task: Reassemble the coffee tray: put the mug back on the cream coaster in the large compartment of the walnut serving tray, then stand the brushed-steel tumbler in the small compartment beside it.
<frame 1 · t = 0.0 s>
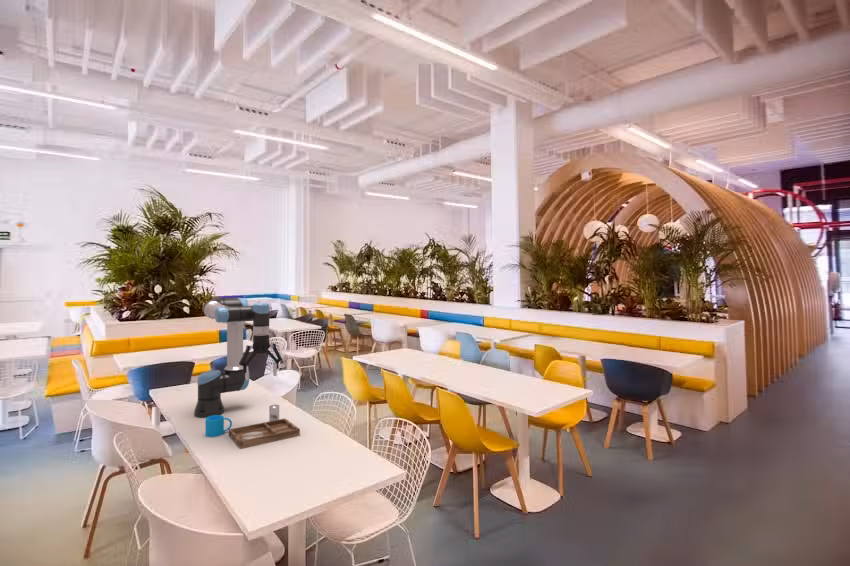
hand: (261, 377, 216), 28 cm above the table, fingers open, 13 cm apart
mug: (219, 433, 217), on the table
tray: (264, 435, 215), on the table
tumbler: (274, 422, 233), on the table
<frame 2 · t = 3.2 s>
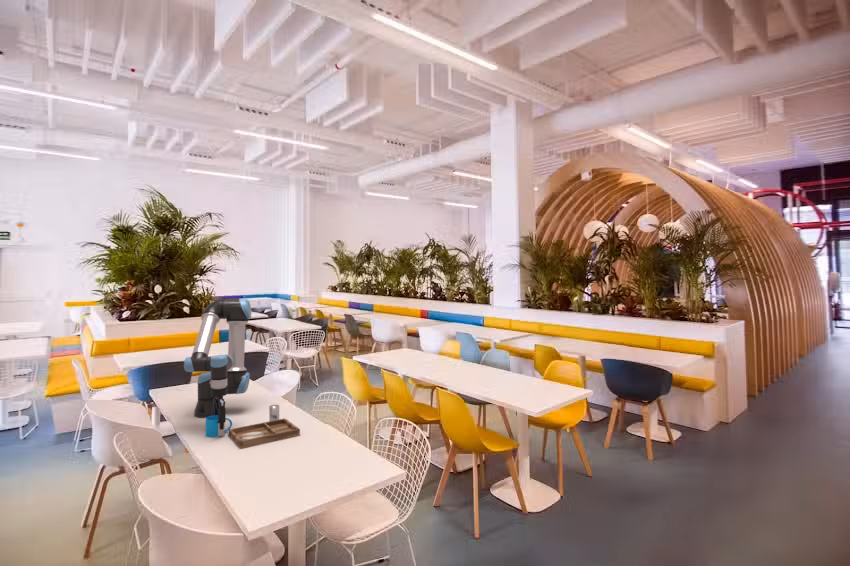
hand: (218, 432, 217), 0 cm above the table, fingers closed on mug, 8 cm apart
mug: (219, 433, 217), on the table, touching gripper
everything else where it was.
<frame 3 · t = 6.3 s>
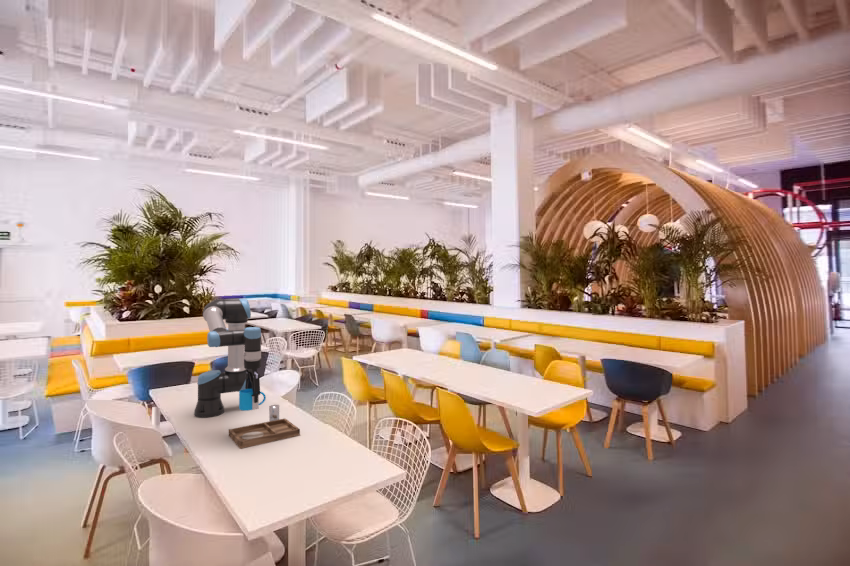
hand: (252, 406, 212), 15 cm above the table, fingers closed on mug, 8 cm apart
mug: (252, 407, 211), point 15 cm above the table, touching gripper
everything else where it was.
when the fingers open (2 cm above the table, at t = 9.1 s): mug stays where it is, resting on tray.
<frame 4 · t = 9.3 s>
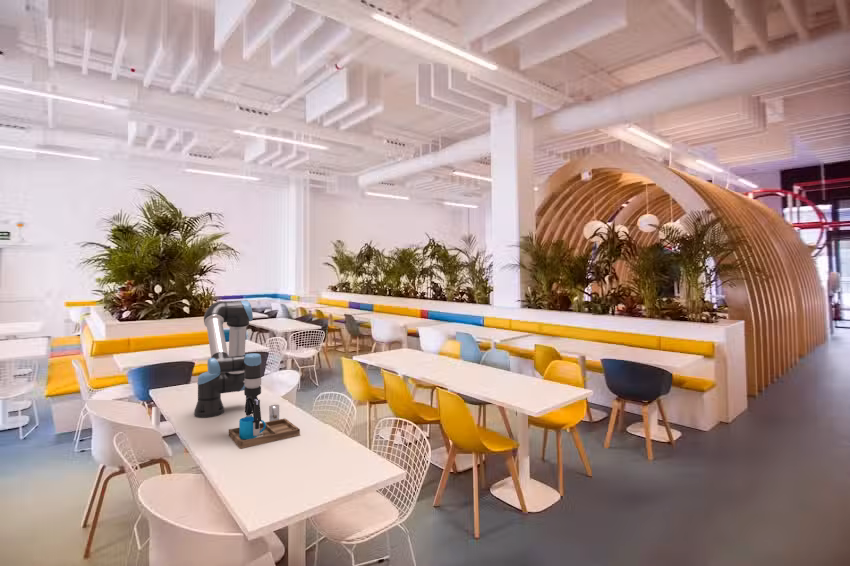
hand: (252, 431, 212), 3 cm above the table, fingers open, 11 cm apart
mug: (252, 435, 212), point 1 cm above the table, touching tray
everything else where it was.
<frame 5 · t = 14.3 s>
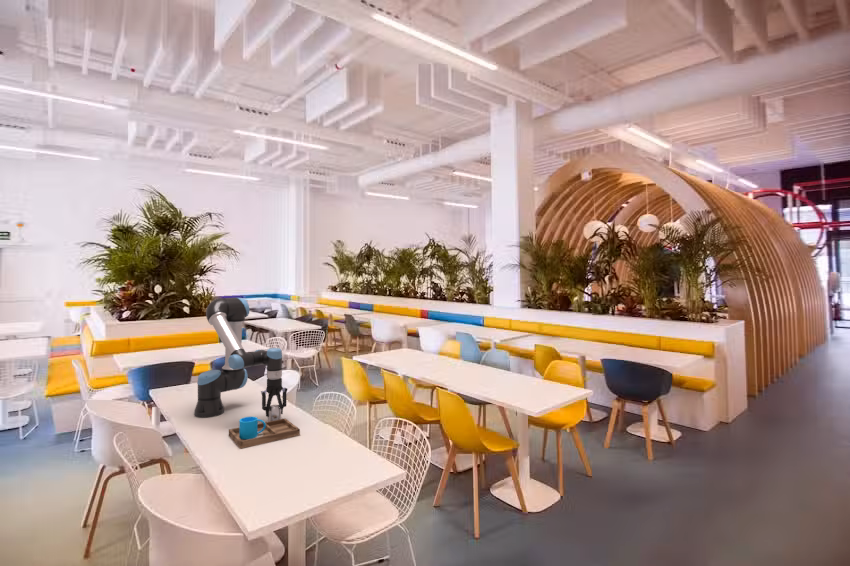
hand: (274, 421, 233), 1 cm above the table, fingers closed on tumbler, 5 cm apart
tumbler: (274, 422, 233), on the table, touching gripper
everything else where it was.
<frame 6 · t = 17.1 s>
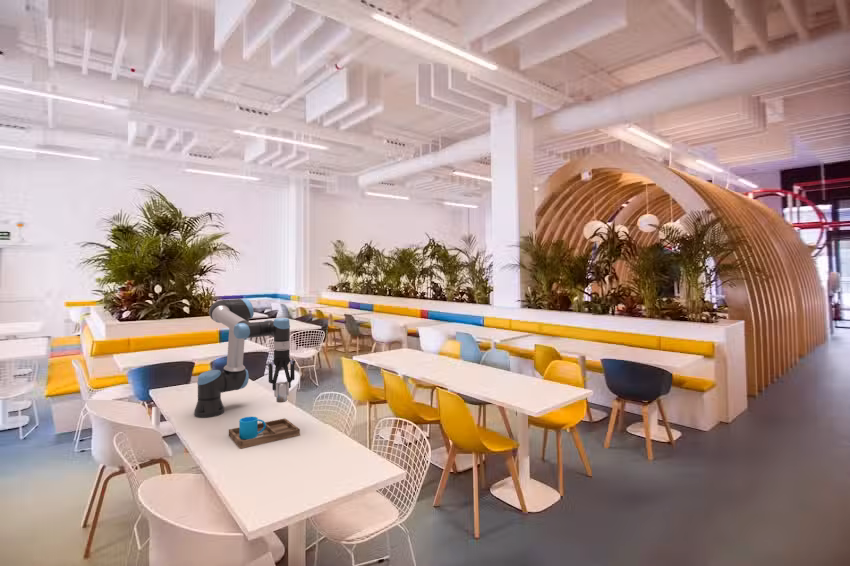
hand: (281, 395, 220), 18 cm above the table, fingers closed on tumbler, 5 cm apart
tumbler: (281, 401, 220), point 15 cm above the table, touching gripper
everything else where it was.
when the fingers open (4 cm above the table, at t = 19.9 s): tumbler stays where it is, resting on tray.
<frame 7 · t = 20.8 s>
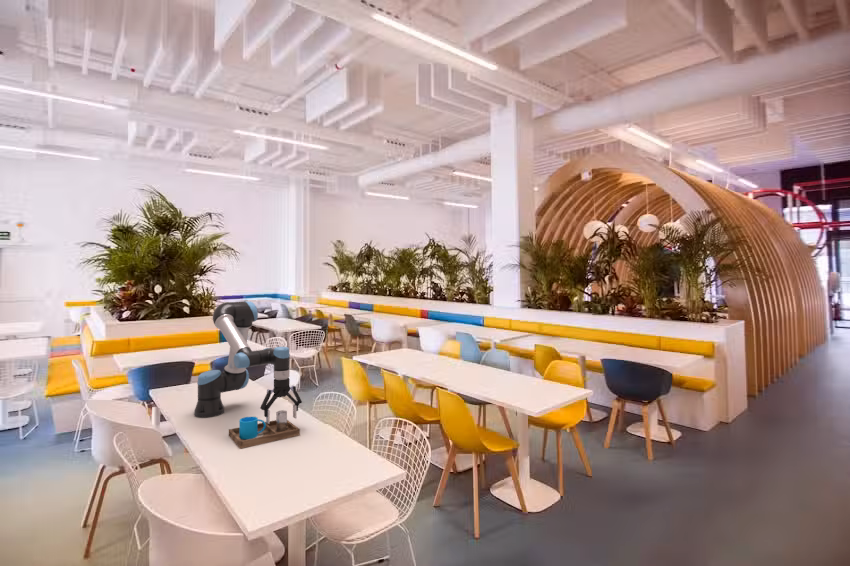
hand: (281, 420, 220), 6 cm above the table, fingers open, 13 cm apart
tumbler: (281, 429, 220), point 1 cm above the table, touching tray
everything else where it was.
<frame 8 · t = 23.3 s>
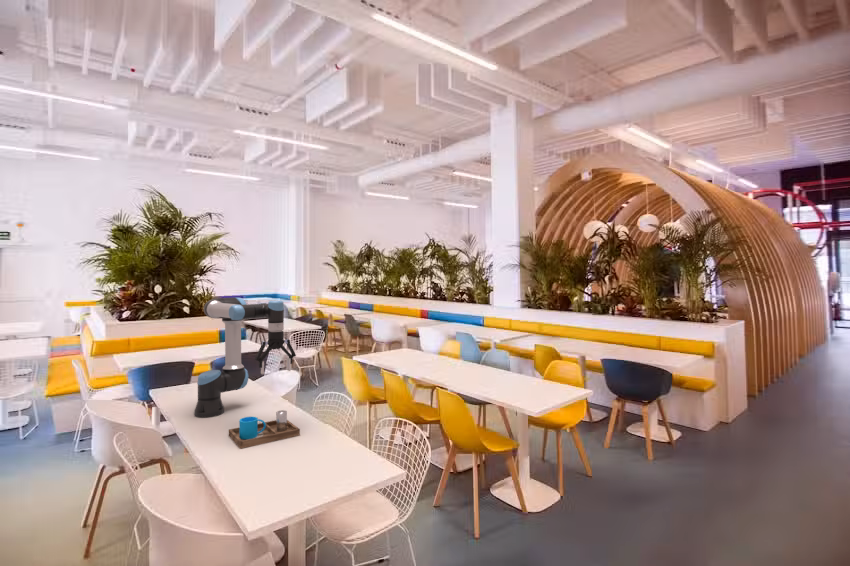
hand: (275, 372, 225), 29 cm above the table, fingers open, 13 cm apart
nothing on the table moved.
at the end: mug inside the target area on the tray (0.3 cm from its centre), point 1.0 cm above the tray's base; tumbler inside the target area on the tray (0.1 cm from its centre), point 1.0 cm above the tray's base; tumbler tilted 0° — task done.
